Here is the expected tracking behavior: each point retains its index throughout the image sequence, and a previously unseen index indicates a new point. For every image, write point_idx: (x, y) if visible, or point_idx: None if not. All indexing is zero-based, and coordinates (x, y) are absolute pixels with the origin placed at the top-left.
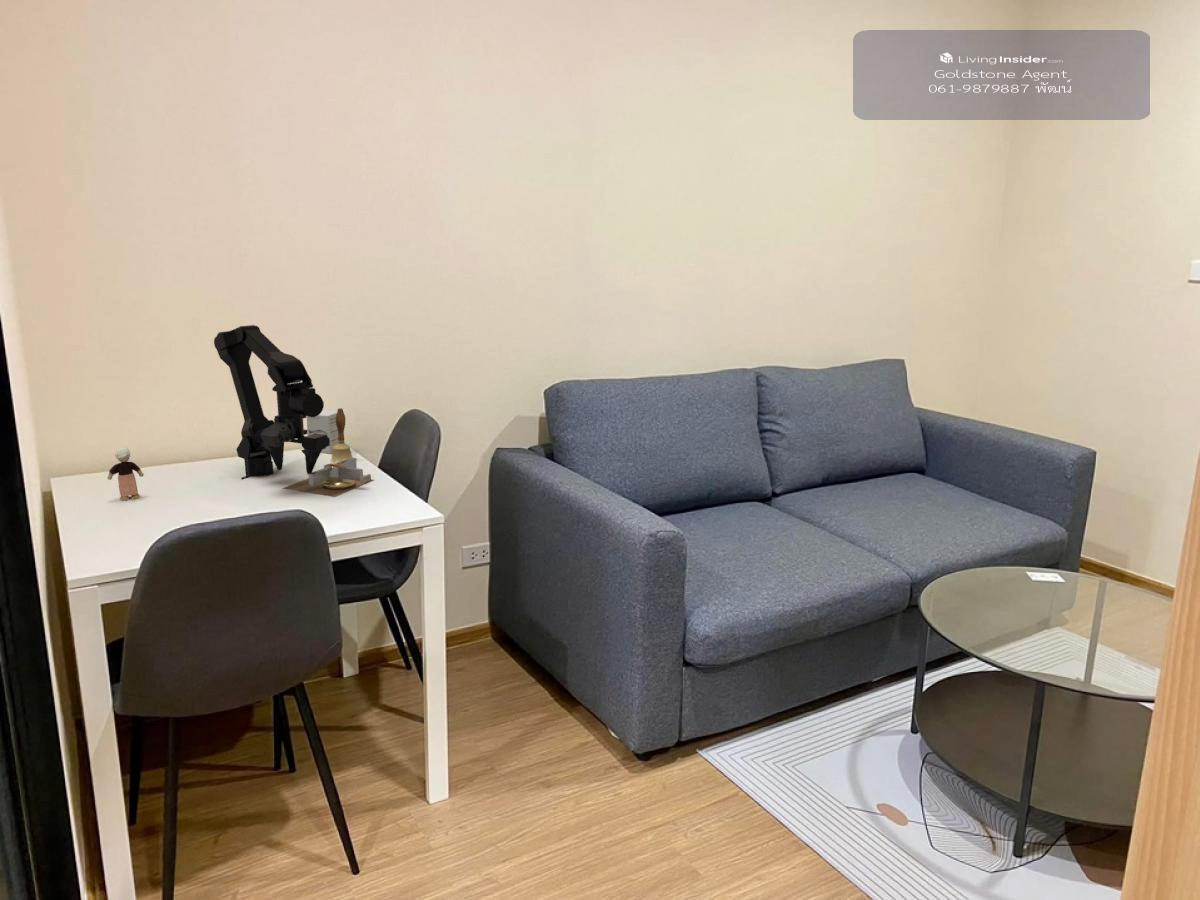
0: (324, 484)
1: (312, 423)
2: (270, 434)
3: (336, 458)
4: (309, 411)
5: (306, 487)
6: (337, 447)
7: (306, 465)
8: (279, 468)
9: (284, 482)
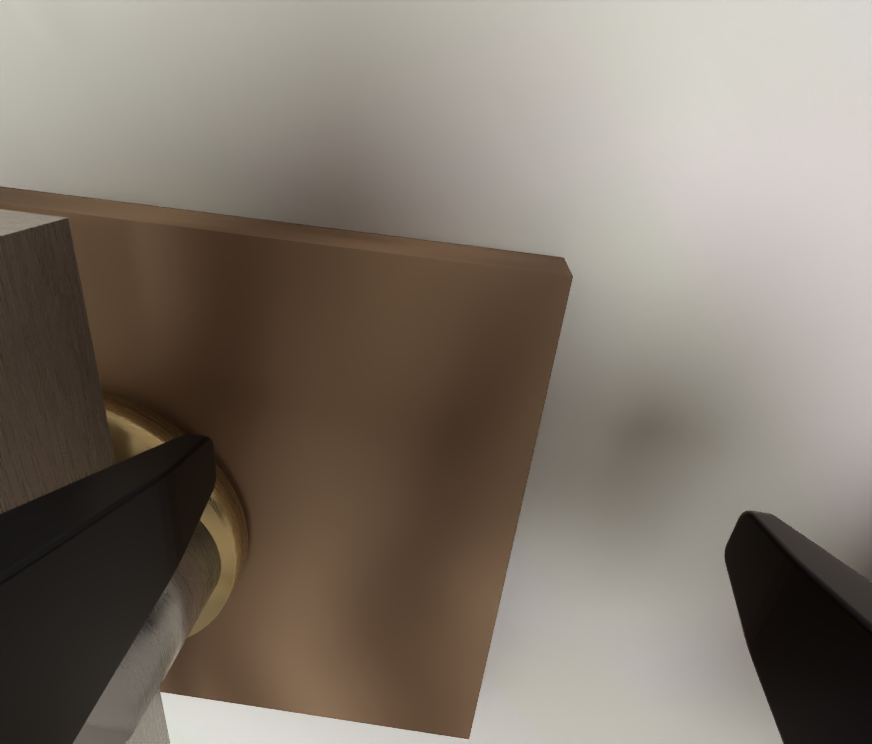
0: (114, 419)
1: None
2: None
3: None
4: None
5: (333, 381)
6: None
7: (86, 507)
8: (750, 537)
9: (724, 558)
